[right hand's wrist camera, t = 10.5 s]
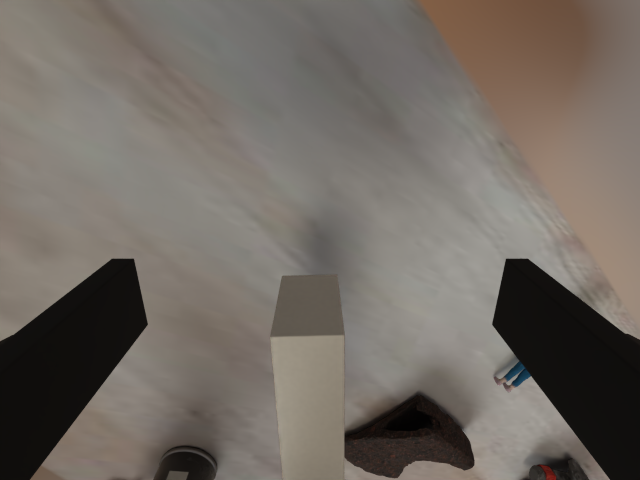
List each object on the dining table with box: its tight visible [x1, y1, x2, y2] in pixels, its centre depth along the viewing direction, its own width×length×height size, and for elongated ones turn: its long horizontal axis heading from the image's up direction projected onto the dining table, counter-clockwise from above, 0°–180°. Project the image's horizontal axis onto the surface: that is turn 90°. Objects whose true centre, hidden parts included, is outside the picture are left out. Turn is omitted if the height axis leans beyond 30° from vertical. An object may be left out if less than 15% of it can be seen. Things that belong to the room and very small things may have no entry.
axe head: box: [344, 395, 474, 478], centre depth 56 cm, size 18×8×15 cm
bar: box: [270, 275, 345, 480], centre depth 32 cm, size 24×5×9 cm, turn 1°
